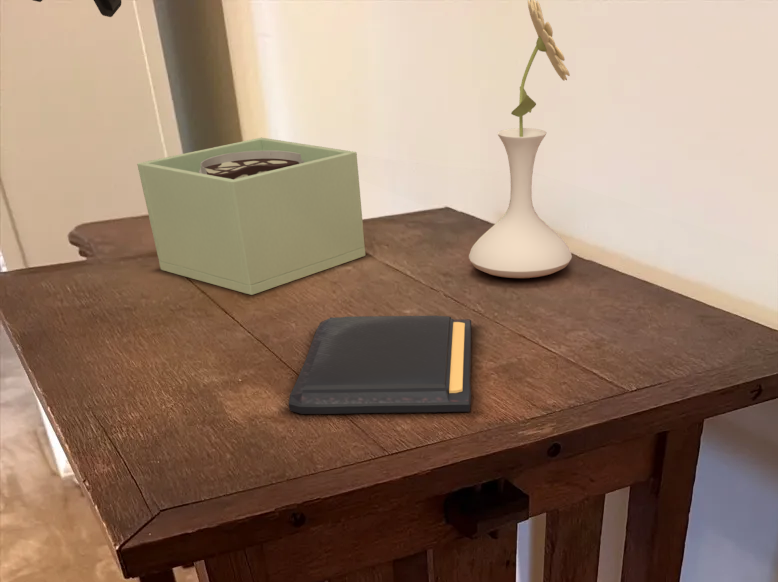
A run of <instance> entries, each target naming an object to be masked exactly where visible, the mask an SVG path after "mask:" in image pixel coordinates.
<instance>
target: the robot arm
mask: <svg viewBox="0 0 778 582" xmlns="http://www.w3.org/2000/svg"><path fill="white" fill-rule="evenodd" d="M32 1H34V2H39V3H41V2H43V0H32ZM93 2H94V4H95V6H96V8H97V9H98V11H99V13H100V15H102V16H103V17H107V18H112V17H114V15H115V14H116V13H117V11H119V9H120V7H121V6H122V0H93Z"/></svg>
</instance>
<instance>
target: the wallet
mask: <svg viewBox="0 0 778 582" xmlns="http://www.w3.org/2000/svg"><path fill="white" fill-rule="evenodd" d="M471 358H472V319H468V318H467V319H466V318H465V319H461V318H460V319H454V318H452V316H448V315H370V316H369V315H367V316H366V315H365V316H364V315H363V316H359V315H356V316H355V315H354V316H341V317H340V316H338V317H337V316H336V317H333V316H332V317H329V318H327V319H325V320H322V321H321V322H319V324H318V326H317V328H316V331H315V332H314V335H313V338H312V341H311V343H310V346H309V349H308V352H307V355H306V358H305V360H304V363H303V365H302V367H301V370H300V372H299V374H298V377H297V379H296V381H295V383H294V386H293V388H292V390H291V392H290V394H289V398H288V408H289V411H291V412H294V413H296V414H301V415H353V414H354V415H355V414H356V415H357V414H358V415H359V414H428V413H430V414H432V413H436V414H437V413H470V412H471V407H472V387H471V375H472V372H471V371H472V369H471V368H472V366H471V365H472V359H471Z"/></svg>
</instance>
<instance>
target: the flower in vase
mask: <svg viewBox="0 0 778 582" xmlns="http://www.w3.org/2000/svg"><path fill="white" fill-rule="evenodd" d="M527 7H528V13H529V16H530V19H531V22H532V25H533V27H534V30H535V32H536V34H537V38H536V42H535V47H534V48H533V51H532V53H531V56H530V57H529V60H528V63H527V64H526V67H525V70H524V72H523V76H522V79H521V83H520V86H519V101H518V102H519V104H518V105H517V106H516V107H515V108H514V109H513V110H512V111H511V113H510V114H511V115H513V116H515V117H517V118H518V119H519V122H518V123H519V125H518V126H519V127H515V128H508V129H502V130H498V132H497V136H498V138H499V139H500V141H501V142H502V144H503V147H504V149H505V153H506V155H507V160H508V165H509V176H510V197H509V204H508V207H507V209H506V212H505V213H504V214H503V215H502V217H501V218H500V219H498V221H497V222H496V223H494V224H493V225H492V226H491V227H490V228H489V229H487V231H485V232H484V233H483V234H482V235H481V236H480V237H479V238H478V239H476V240H477V241H475V243H474V244H473V245H472V246H471V249H470V251H469V254H468V260H469V262H470V263H471V265H472V266H473V267H474V268H475V269H477V270H479V271H481V272H484V273H485V274H488V275H490V276H495V277H499V278H500V277H501V278H506V279H507V278H509V279H530V278H531V279H532V278H540V277H545V276H548V275H552V274H554V273H557V272H559V271H561V270H563V269H565V268H566V267H567V266H568V265H569V264H570V262H571V260H572V258H573V255H572V252H571V249H570V246H569V245H568V244H567V243H566V241H565V240H564V238H563V237H562V236H561V235H559V234H558V232H556V231H555V230H554V229H553V228H552V227H550V226H549V224H547V223H546V222H545V221H544V220H543V219H542V218H541V217H540V216H539V215H538V213H537V212H536V210H535V208H534V204H533V195H532V191H533V190H532V189H533V188H532V187H533V172H534V165H535V161H536V156H537V153H538V150H539V147H540V145H541V143H542V142H543V140H544V138H545V137H546V135H547V131H546V130H543V129H539V128H532V127H531V128H530V127H524V119H523V118H524V117H523V116H526V115H527V114H528V113H532V110H533V109H534V108H536V106H537V103H536V101H534V100H533V99H532V98H531V97H530V96H529V95H528V94H527V91H526V89H525V85H526V80H527V77H528V76H529V75H528V74H529V72H530V69H531V66H532V65H533V62H534V60H535V57H536V56H537V53H538V51H539V52H544V53H545V55H546V56H547V58H548V60H549V62H550V64H551V65H552V67H553V69H554V71H555V72H556V74H557V75H558V76H559V78H560V79H561V80H562V81H568V77H571V74H570V71H569V70H568V69H567V66H566V65H565V63H564V62H565V60H566V59H565V56H564V53H563V52H562V51H561V49H560V48H559V46H557V45H556V42H555V40H554V38H553V36H554V35H553V33H554V32H553V27H552V26H551V23H550V22H549V21H546V22H545V20H544V16H543V12H542V11H543V10H542V8H541V5H540V2H539V1H538V0H527ZM567 76H568V77H567Z"/></svg>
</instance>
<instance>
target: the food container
mask: <svg viewBox="0 0 778 582" xmlns="http://www.w3.org/2000/svg"><path fill="white" fill-rule="evenodd" d="M301 163H304V160H302V159H301V154H299V153H294V152H287V151H246V152H237V153H229V154H223V155H218V156H215V157H211V158H208V159H206V160H204V161H202V162H201V169H200V170H199V173H202V174H207V175H212V176H218V177H223V178H228V179H233V180H234V179H238V178H242V177H246V176H251V175H255V174H259V173H263V172H267V171H271V170H276V169H280V168H284V167H288V166H292V165H296V164H301Z"/></svg>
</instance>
